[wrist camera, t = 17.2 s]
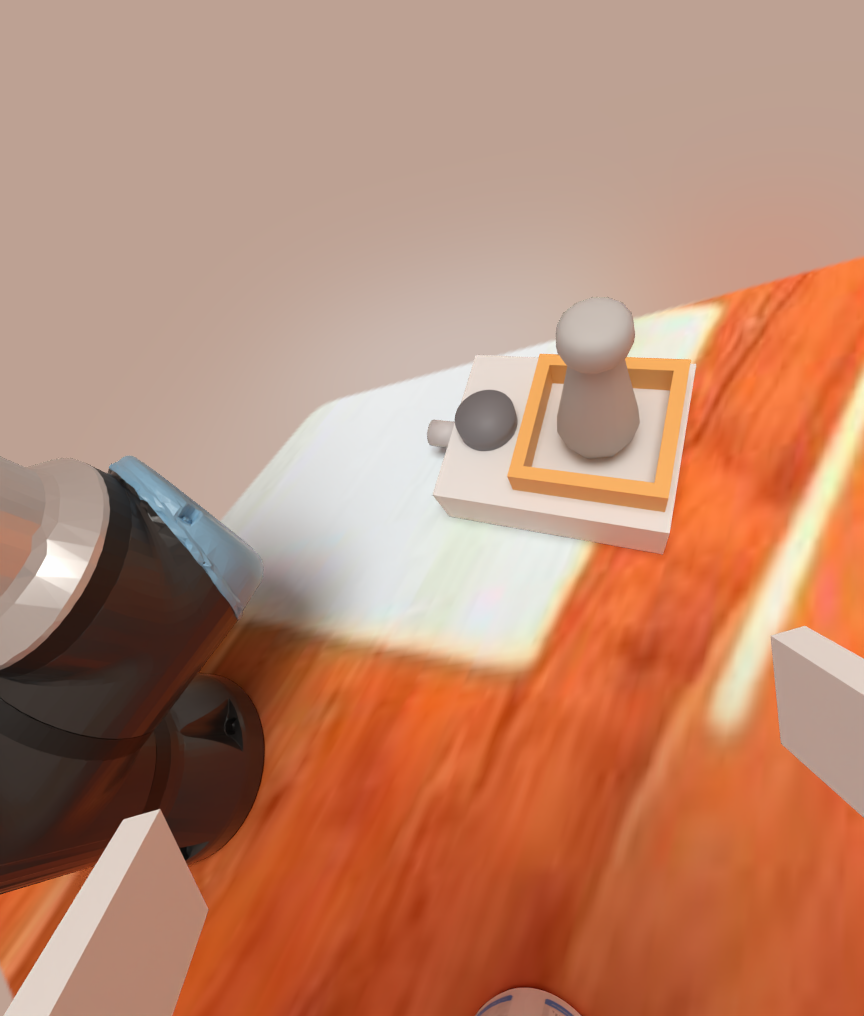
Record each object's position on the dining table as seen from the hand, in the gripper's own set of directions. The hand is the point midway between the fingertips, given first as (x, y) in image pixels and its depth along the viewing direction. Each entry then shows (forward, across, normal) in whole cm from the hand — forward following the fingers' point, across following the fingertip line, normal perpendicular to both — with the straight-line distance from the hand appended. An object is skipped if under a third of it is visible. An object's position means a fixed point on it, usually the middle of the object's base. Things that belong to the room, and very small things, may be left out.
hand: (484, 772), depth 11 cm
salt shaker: (+29, +15, 0) cm, 33 cm away
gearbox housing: (+35, +12, -1) cm, 37 cm away
